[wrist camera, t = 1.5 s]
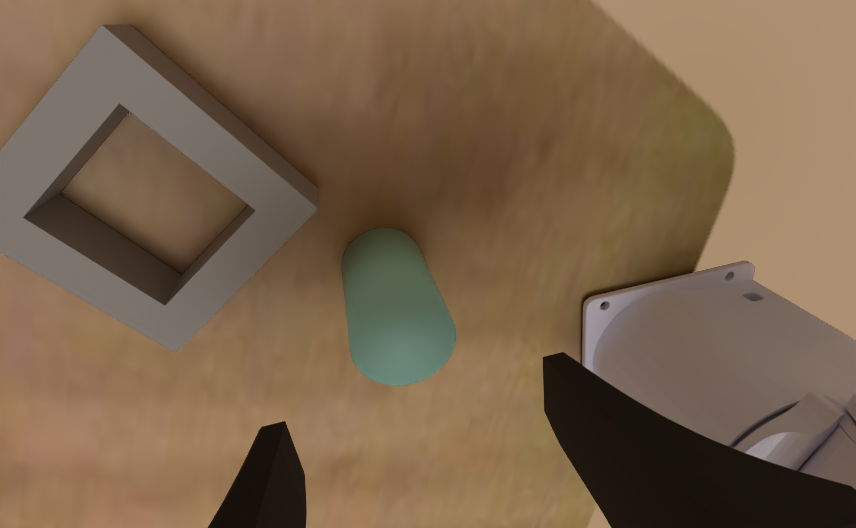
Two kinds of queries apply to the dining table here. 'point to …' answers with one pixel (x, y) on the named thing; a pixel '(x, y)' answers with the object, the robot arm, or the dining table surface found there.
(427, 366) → the peg
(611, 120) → the dining table surface
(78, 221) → the socket
